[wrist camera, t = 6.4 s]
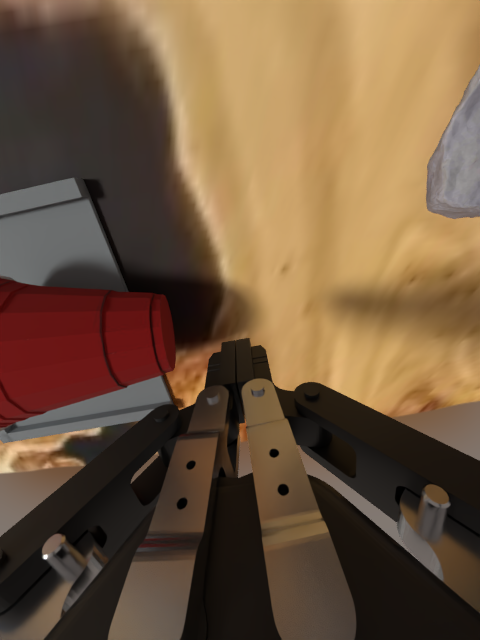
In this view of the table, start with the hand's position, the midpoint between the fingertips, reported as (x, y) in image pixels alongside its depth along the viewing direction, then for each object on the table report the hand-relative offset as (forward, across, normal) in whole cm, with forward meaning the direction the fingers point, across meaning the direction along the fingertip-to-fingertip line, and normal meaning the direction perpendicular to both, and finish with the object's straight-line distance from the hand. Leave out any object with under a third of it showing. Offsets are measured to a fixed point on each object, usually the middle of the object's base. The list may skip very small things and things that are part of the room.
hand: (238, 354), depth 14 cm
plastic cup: (+5, +5, 0) cm, 7 cm away
